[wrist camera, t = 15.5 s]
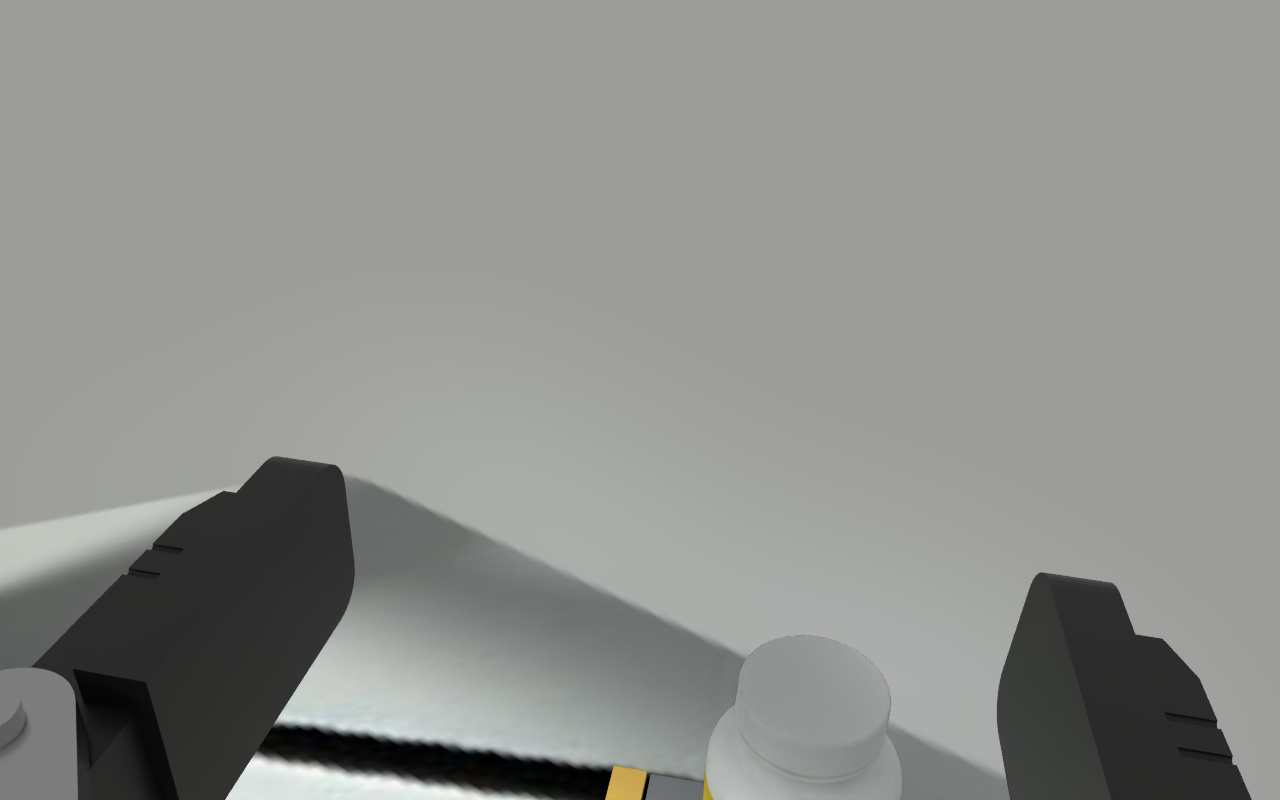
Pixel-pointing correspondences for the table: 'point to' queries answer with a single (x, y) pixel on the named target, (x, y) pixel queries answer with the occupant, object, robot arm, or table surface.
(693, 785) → the mat
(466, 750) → the table surface
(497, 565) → the table surface
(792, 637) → the supplement bottle
